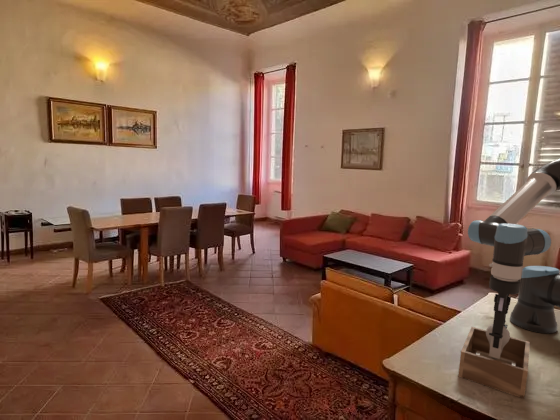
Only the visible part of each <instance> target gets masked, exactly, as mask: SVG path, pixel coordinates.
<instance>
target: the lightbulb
mask: <svg viewBox="0 0 560 420" xmlns="http://www.w3.org/2000/svg"><path fill="white" fill-rule="evenodd" d="M492 329H493V323H492V324H490V325H489V326H488V327H487V328H486V329H485V330H486V336H487V339H488V341H489V344H491V335H489V333H492ZM502 335H503V339H502V346H501V353H502V350H503V347H504V346H505V345H506V344H507V343H508V341H509V339H510V337H511V334H510V331H509V330H508V327H507V328H506V327H503V334H502ZM500 355H501V354H500ZM490 357H491V356H490ZM491 358H493V359H494V360H498V358H494V357H491Z"/></svg>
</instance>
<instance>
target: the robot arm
mask: <svg viewBox="0 0 560 420" xmlns="http://www.w3.org/2000/svg"><path fill="white" fill-rule="evenodd" d="M557 191H560V158H557V159H554V160H552V161H549V162H547V163H545V164H542V165H541V166H540V167H538V168H537V169H535V170H533V172H531V173H530V174H528V177H527V178H526V182H524V184H523V185H521V187H519V188H518V189H517V190H516V192H514V193H513V194H512V195H511V196H510V197H509V198H507V200H505V202H503V203H502V204H501V205H500V206H499V207H498V208H497V209H495V211H493V212H492V213H491V214H490V215H489V216H488V217H487V218H486V219H485V220H483V219H479V220H477V219H476V220H473V221H471V222H470V224H469V225H468V229H467V235H468V238H469V239H470V241H471V242H474V243H478V244H480V245H484V246H489V247H493V253H492V254H493V255H492V258H491V259H492V260H491V261H492V262H491V263H489V264H488V266H489V267H491V269H490V270H491V271H490V274H491V275H490V276H489V283H488V288H490V289H491V290H492V291H493V292H496V293H495V294H494V298H493V302H494V306H493V312H494V316H493V322H492V324H493V329H492V333H489V335H491V344H490V352H489V356H491V357H494V358H498V359H500V354H501V346H502V339H503V335H502V334H503V327H506V328H507V329H508V324H506V322H507V321H506V319H507V318H506V317H507V314H508V313H509V309H510V308H509V307H510V304H511V299H512V297H511V295H517V294H518V296H517V302H516V304H515V306H514V307H513V310H512V311H511V313H510V316H509V320H510V322H511V324H513V325H514V326H517V327H519V328H521V329H524V330H527V331H530V332H533V333H540V334H555V333H556V332H558V331H557V330H558V322H557V321H556V320H557V319H556V318H557V317H556V314H555V313H556V312H555V307H558V308H560V269H559V268H557V267H552V266H547V265H546V266H545V265H528V266H524V259H525V258H524V257H525V256H532V255H534V256H535V255H541V254H543V253H546V252H547V251H549V249H550V247H551V244H552V238H551V236H550V234H549V233H548V232H547V231H545V230H543V229H540V228H534V227H533V228H528V227H526V226H525V225H523V224H519V222H520V221H522V220H523V219H524V217H526V216H527V215H528V214H529V213H530V211H532V210H533V209H534V208H536V206H537V205H538V204H539V203H540V202H542V200H543V199H544V198H545V197H547V196H551V195H553V194H554V193H555V192H557Z"/></svg>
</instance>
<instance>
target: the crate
mask: <svg viewBox="0 0 560 420" xmlns="http://www.w3.org/2000/svg"><path fill="white" fill-rule="evenodd" d="M486 330H487V329H483V328H478V327H474V326H471V327H470V329H469V331H468V334H467V336H466V339H465V341H464V344H463V346H462V349H461V351H460V355H459V356H460V358H459V365H458V366H459V368H458V375H457V376H458V377H459V378H462V379H464V380H466V381H467V380H468V381H470V382H473V383H477V384H480V385H483V386H485V387H488V388H491V389H495V390H497V391H501V392H503V393H506V394H509V395H512V396H515V397H518V398H521V399H525V394H526V388H527V381H528V373H529V359H530V358H529V357H530V343H531V342H530V341H528V340H524V339H521V338H516V337H512V336H510V339H509V341H508V343H507V344H506V345H505V346H504V347H503V350H502V353H501V355H500V359H498V360H494V359H493V358H491V357H490V356H489V352H490V344H489V341H488V339H487V336H486Z"/></svg>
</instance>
